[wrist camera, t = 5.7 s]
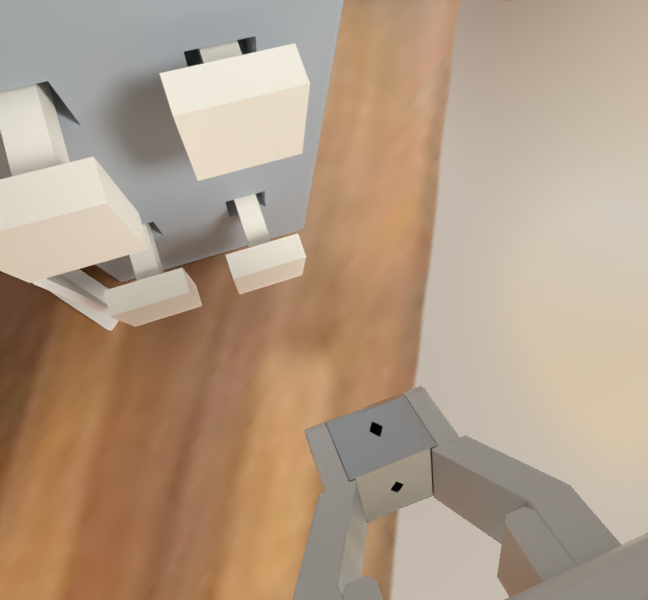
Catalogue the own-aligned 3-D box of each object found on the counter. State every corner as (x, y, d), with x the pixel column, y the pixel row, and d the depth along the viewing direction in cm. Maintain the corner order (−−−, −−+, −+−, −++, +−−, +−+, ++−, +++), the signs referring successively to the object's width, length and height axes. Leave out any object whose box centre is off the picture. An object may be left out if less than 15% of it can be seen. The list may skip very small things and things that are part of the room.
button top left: (29, 282, 13) (-59, 246, 10) (-12, 118, 14) (-106, 30, 10) (149, 248, 14) (106, 203, 10) (103, 92, 14) (49, 1, 11)
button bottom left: (135, 326, 23) (110, 316, 19) (107, 228, 24) (79, 202, 20) (202, 305, 23) (189, 292, 20) (173, 211, 24) (156, 182, 21)
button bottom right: (239, 294, 24) (233, 279, 20) (209, 201, 24) (198, 171, 21) (301, 275, 24) (306, 257, 21) (270, 184, 25) (269, 152, 22)
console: (121, 282, 28) (-402, -67, 6) (89, 167, 29) (-446, -456, 7) (303, 229, 30) (374, -179, 8) (267, 123, 31) (245, -475, 9)
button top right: (197, 181, 14) (172, 116, 11) (151, 34, 15) (114, -70, 12) (302, 153, 15) (309, 83, 11) (252, 13, 16) (245, -92, 12)
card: (3, 258, 27) (-149, 188, 18) (25, 233, 28) (-111, 150, 18) (111, 330, 27) (18, 300, 17) (132, 304, 28) (53, 259, 18)
